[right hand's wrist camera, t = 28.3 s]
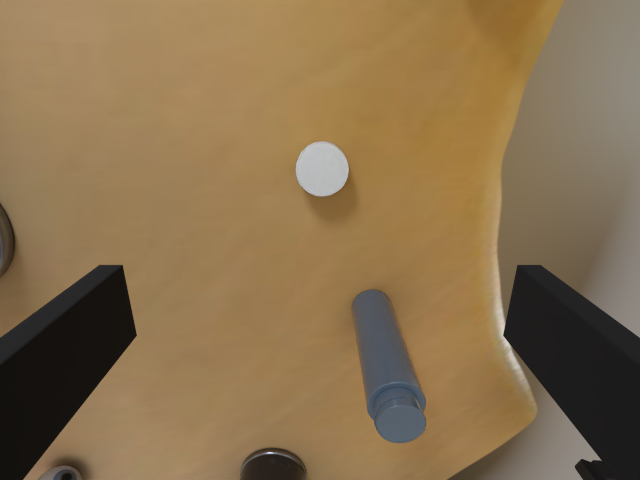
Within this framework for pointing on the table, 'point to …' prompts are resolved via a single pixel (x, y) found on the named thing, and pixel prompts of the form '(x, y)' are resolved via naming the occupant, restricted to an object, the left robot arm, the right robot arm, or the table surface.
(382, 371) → the bottle
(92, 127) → the table surface
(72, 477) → the eyeball
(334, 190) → the white cylinder
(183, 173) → the table surface
